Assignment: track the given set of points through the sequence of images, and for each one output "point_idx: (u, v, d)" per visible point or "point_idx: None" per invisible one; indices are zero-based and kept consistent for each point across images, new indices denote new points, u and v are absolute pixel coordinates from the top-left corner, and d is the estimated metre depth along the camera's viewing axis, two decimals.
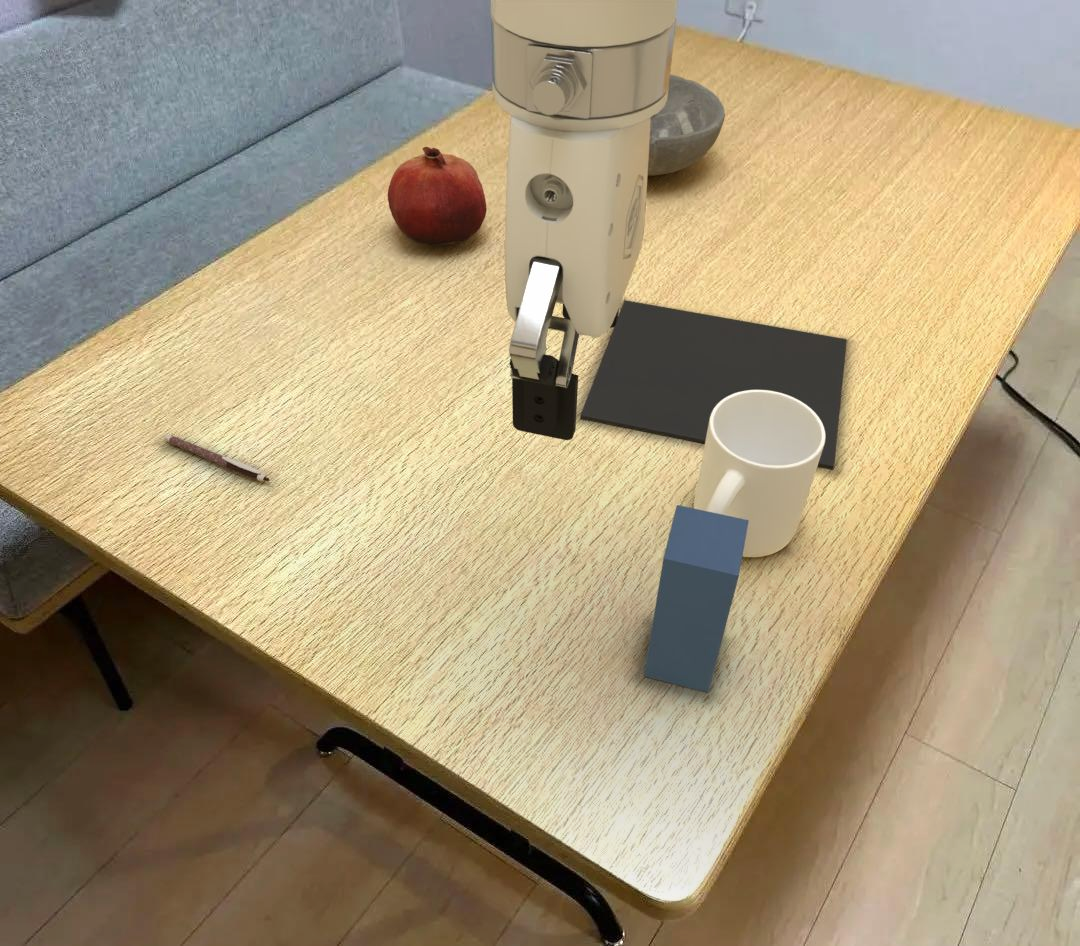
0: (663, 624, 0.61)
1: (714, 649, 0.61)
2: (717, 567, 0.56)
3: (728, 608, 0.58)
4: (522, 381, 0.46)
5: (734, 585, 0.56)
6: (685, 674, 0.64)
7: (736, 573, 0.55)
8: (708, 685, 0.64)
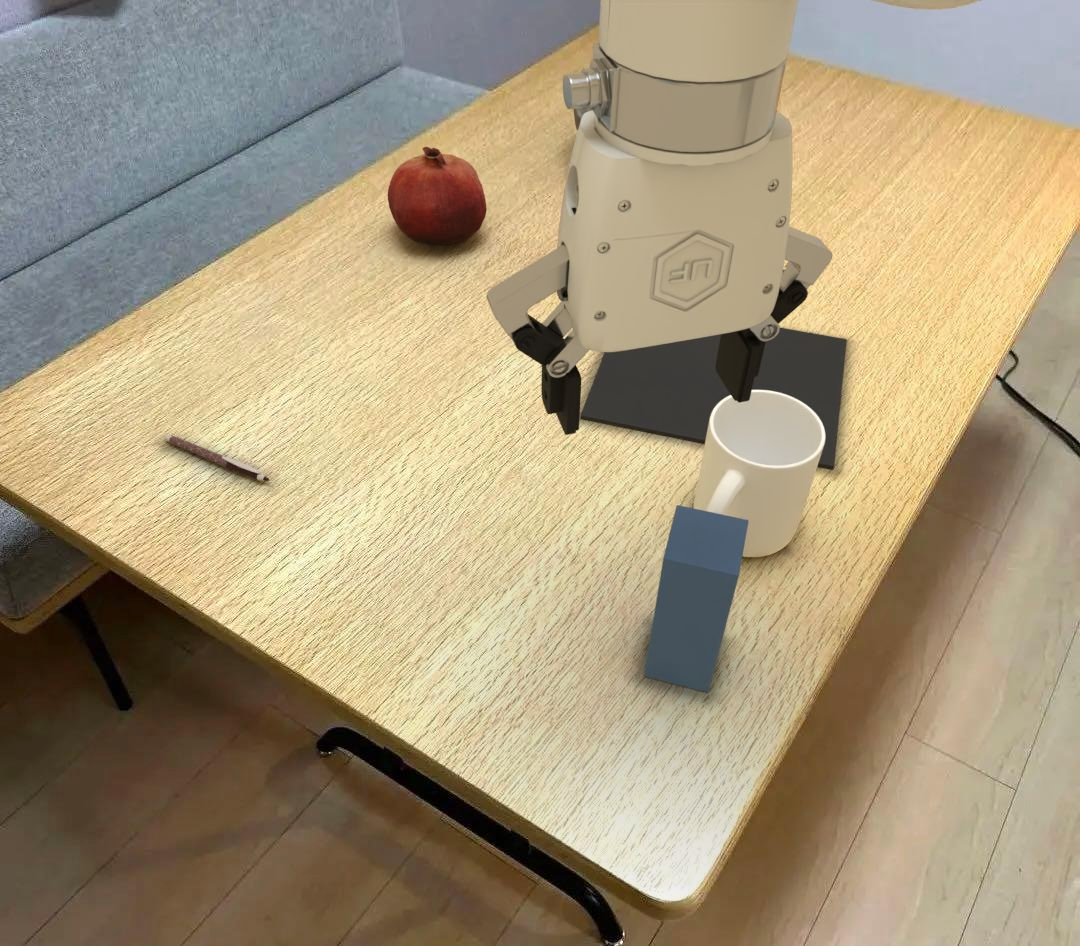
0: (663, 624, 0.61)
1: (714, 649, 0.61)
2: (717, 567, 0.56)
3: (728, 608, 0.58)
4: None
5: (734, 585, 0.56)
6: (685, 674, 0.64)
7: (736, 573, 0.55)
8: (708, 685, 0.64)
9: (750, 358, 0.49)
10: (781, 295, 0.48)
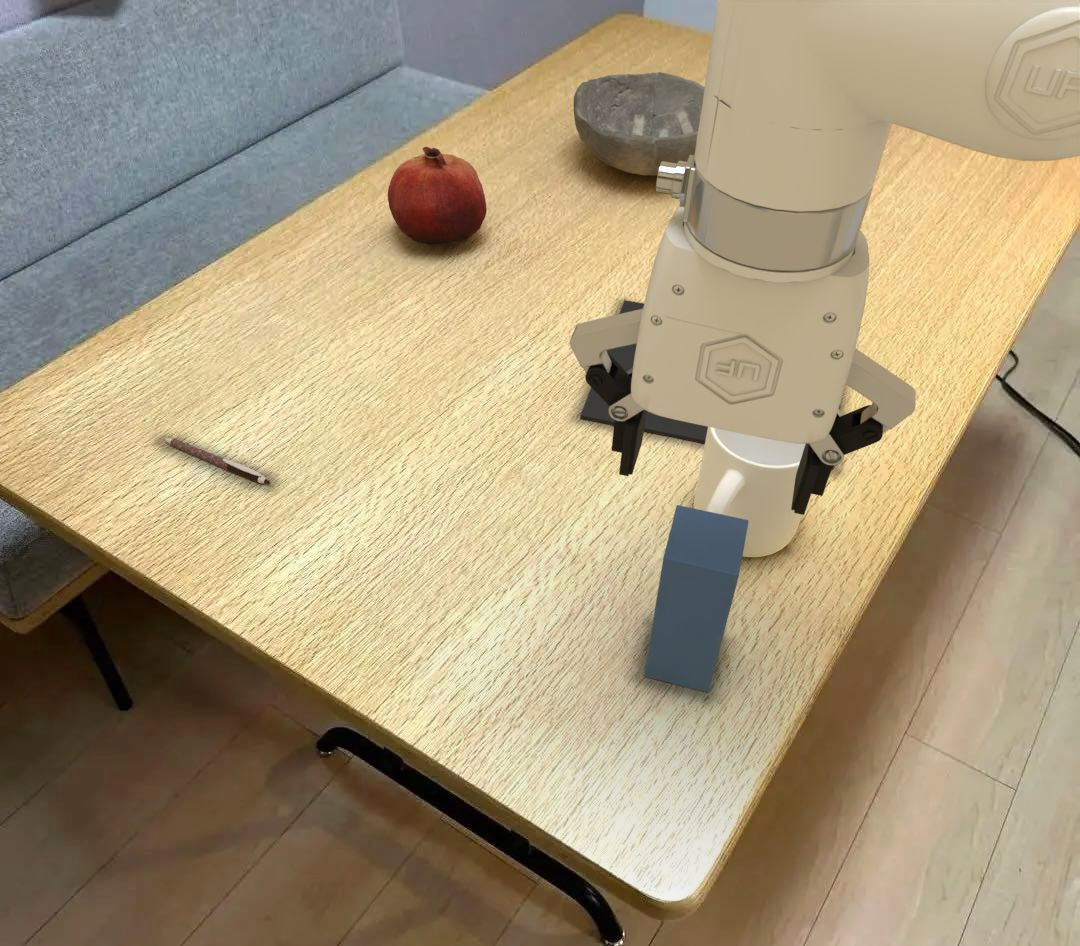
0: (663, 624, 0.61)
1: (714, 649, 0.61)
2: (717, 567, 0.56)
3: (728, 608, 0.58)
4: None
5: (734, 585, 0.56)
6: (685, 674, 0.64)
7: (736, 573, 0.55)
8: (708, 685, 0.64)
9: (807, 474, 0.49)
10: (855, 427, 0.47)
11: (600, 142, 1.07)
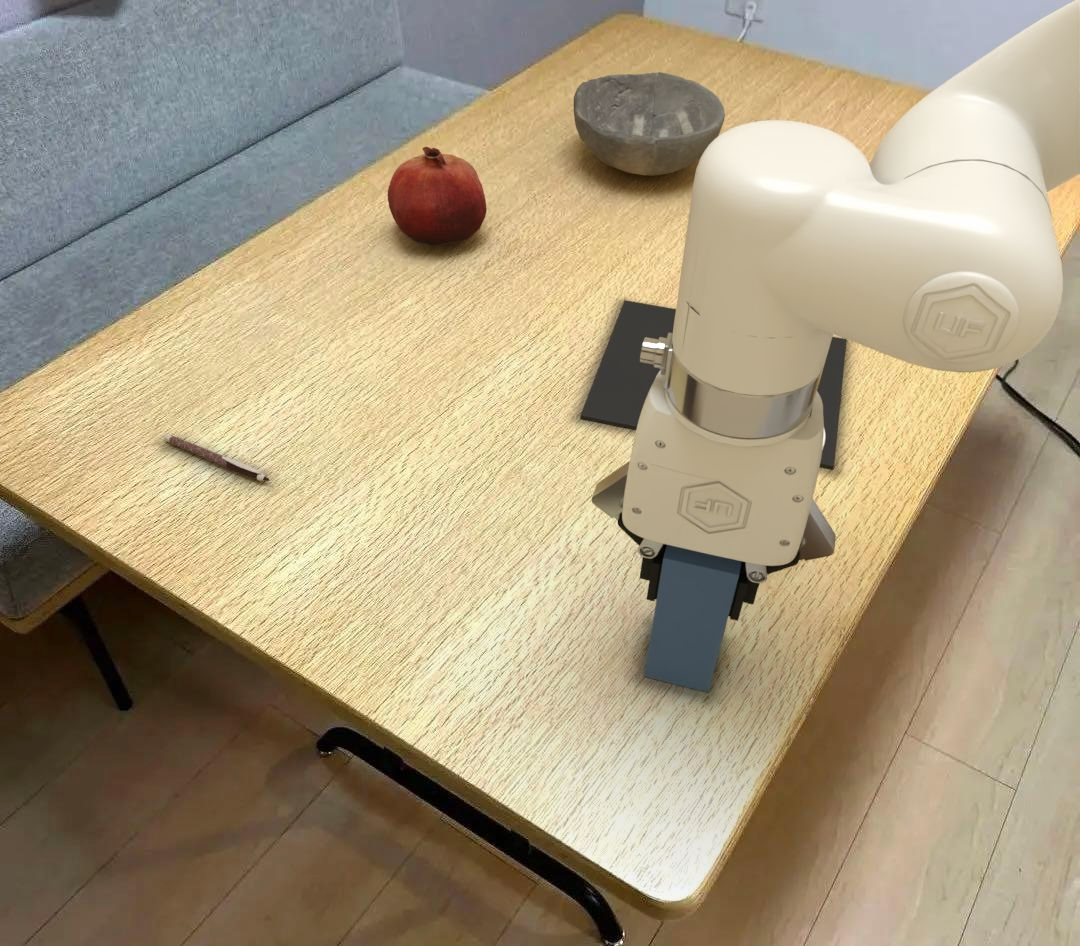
0: (663, 624, 0.61)
1: (714, 649, 0.61)
2: (717, 567, 0.56)
3: (728, 608, 0.58)
4: None
5: (734, 585, 0.56)
6: (685, 674, 0.64)
7: (736, 573, 0.55)
8: (708, 685, 0.64)
9: (738, 590, 0.57)
10: None
11: (600, 142, 1.07)
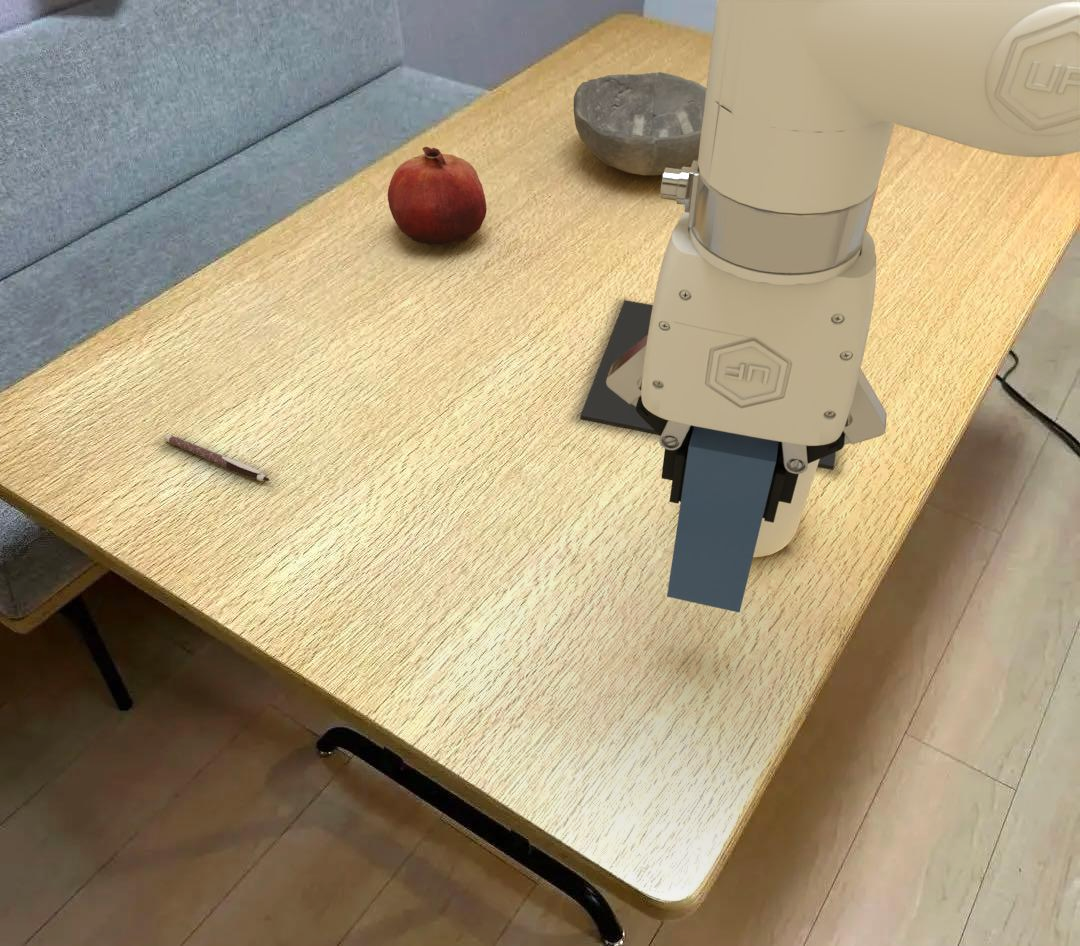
0: (689, 530, 0.54)
1: (747, 558, 0.54)
2: (750, 454, 0.49)
3: (763, 505, 0.51)
4: None
5: (770, 475, 0.49)
6: (714, 591, 0.57)
7: (772, 460, 0.48)
8: (739, 603, 0.57)
9: (774, 483, 0.50)
10: None
11: (600, 142, 1.07)
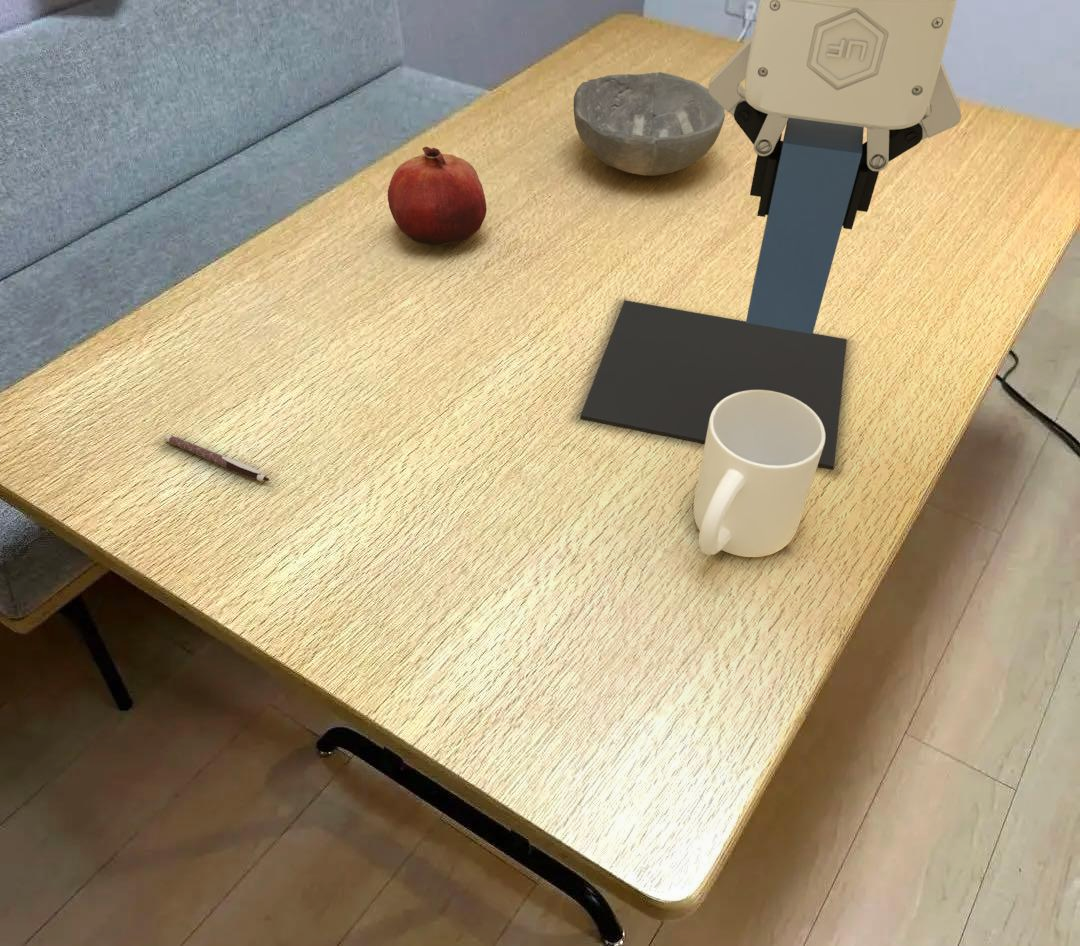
0: (774, 241, 0.60)
1: (825, 268, 0.60)
2: (838, 148, 0.55)
3: (846, 204, 0.57)
4: None
5: (855, 169, 0.55)
6: (791, 311, 0.63)
7: (859, 152, 0.54)
8: (813, 323, 0.63)
9: (856, 183, 0.56)
10: None
11: (600, 142, 1.07)
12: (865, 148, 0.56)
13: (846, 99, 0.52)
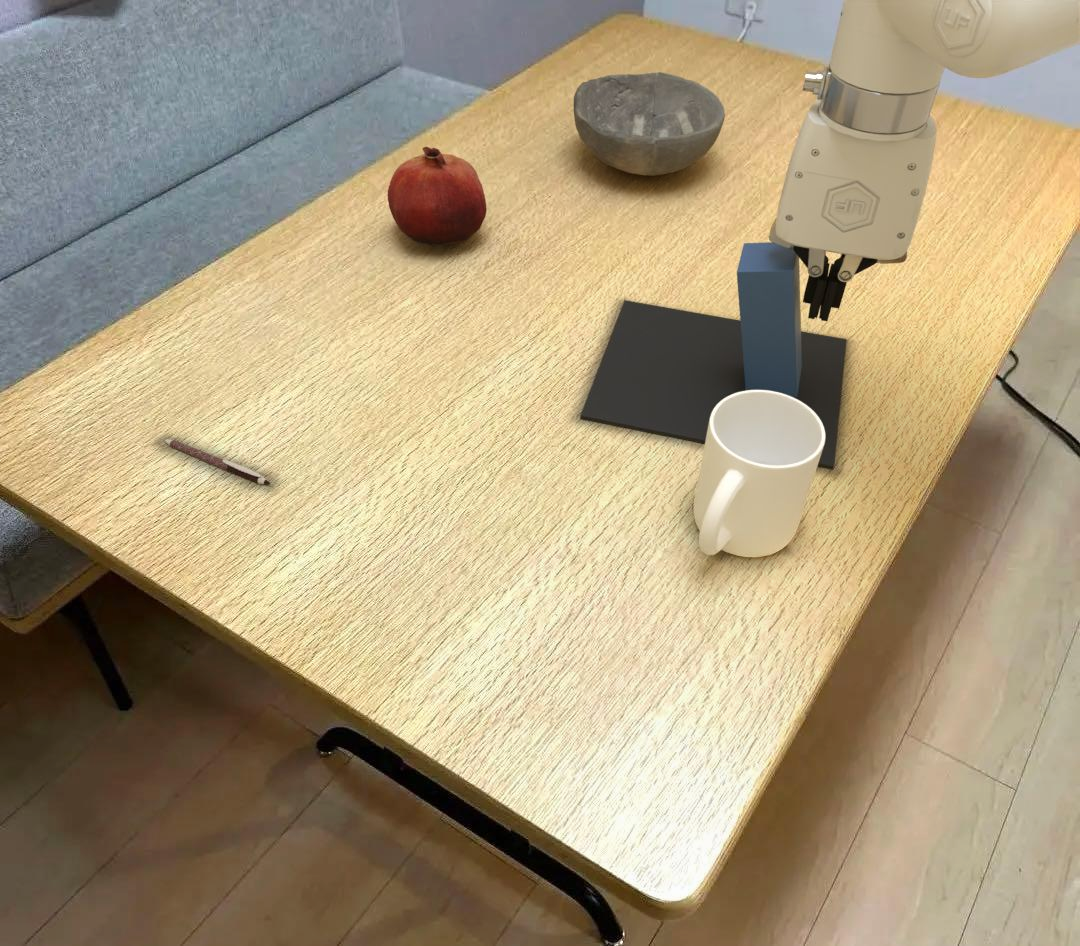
0: (749, 337, 0.81)
1: (792, 350, 0.81)
2: (776, 269, 0.76)
3: (793, 305, 0.77)
4: None
5: (792, 281, 0.76)
6: (776, 383, 0.83)
7: (791, 269, 0.75)
8: (795, 389, 0.83)
9: (830, 289, 0.76)
10: None
11: (600, 142, 1.07)
12: (837, 264, 0.76)
13: (849, 239, 0.71)
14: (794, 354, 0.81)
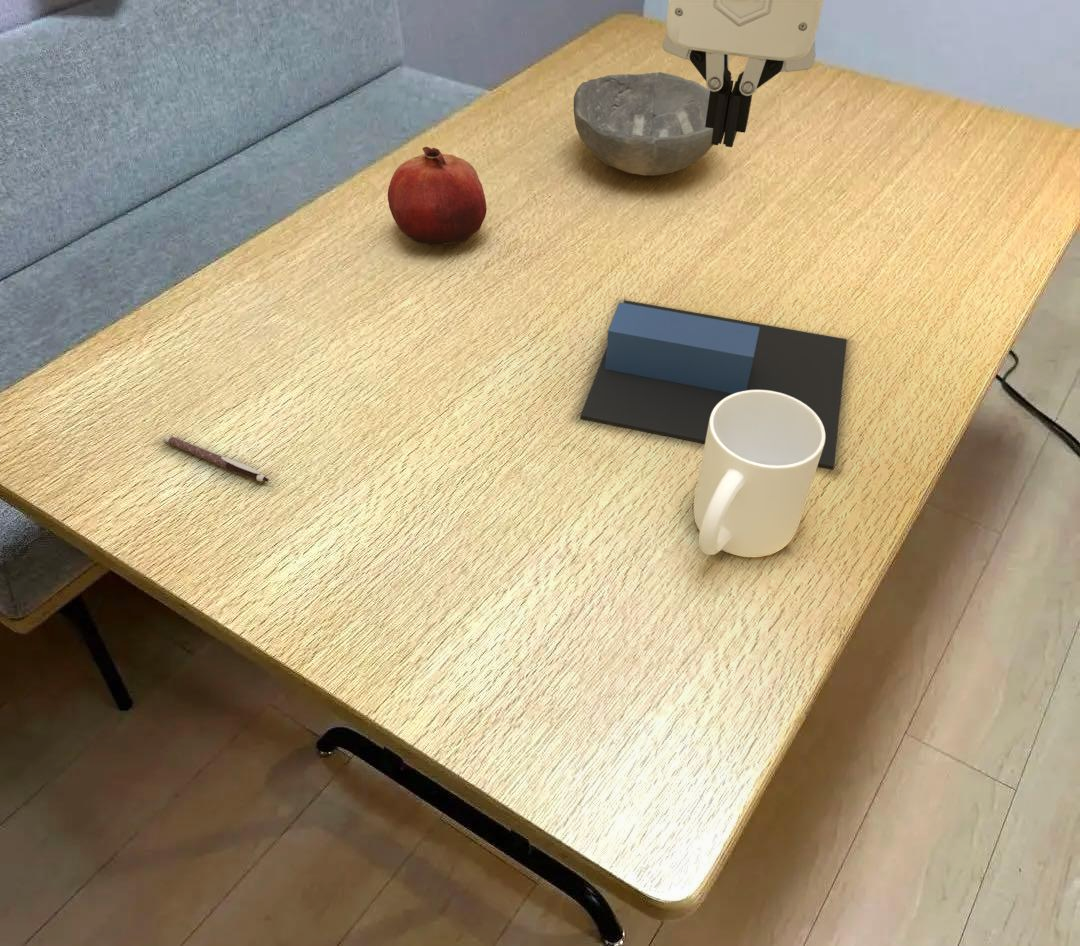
0: (674, 376, 0.86)
1: (694, 348, 0.83)
2: (607, 340, 0.86)
3: (644, 338, 0.84)
4: None
5: (618, 333, 0.84)
6: (732, 369, 0.84)
7: (608, 331, 0.85)
8: (743, 356, 0.82)
9: (732, 106, 0.68)
10: None
11: (600, 142, 1.07)
12: (739, 77, 0.68)
13: (746, 34, 0.63)
14: (699, 348, 0.83)
